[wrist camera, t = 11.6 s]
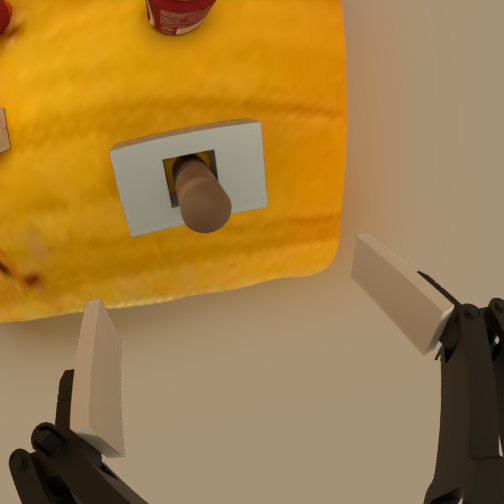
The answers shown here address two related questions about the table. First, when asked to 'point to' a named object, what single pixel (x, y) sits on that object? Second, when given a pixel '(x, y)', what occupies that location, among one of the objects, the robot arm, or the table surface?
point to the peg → (200, 195)
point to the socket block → (182, 143)
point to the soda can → (177, 14)
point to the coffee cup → (4, 15)
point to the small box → (3, 132)
